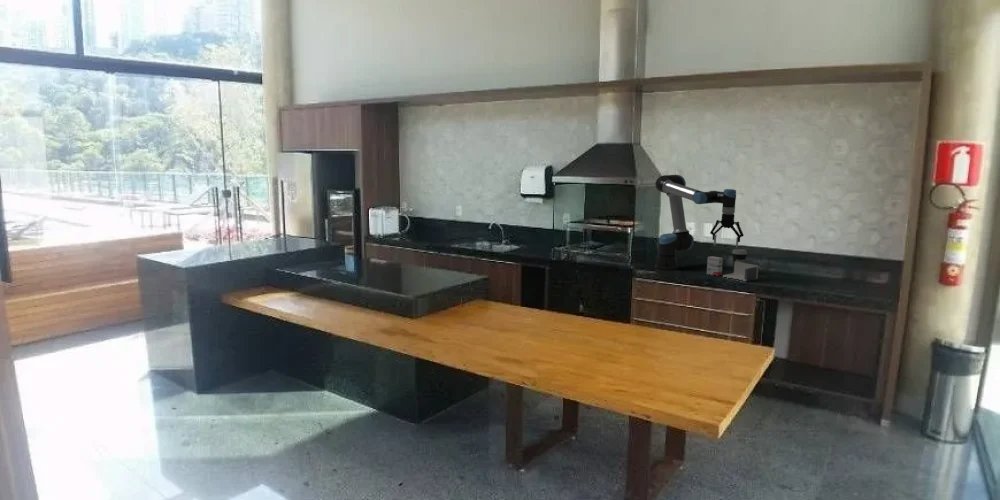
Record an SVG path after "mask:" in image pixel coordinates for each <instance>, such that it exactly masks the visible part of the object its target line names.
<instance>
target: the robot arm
mask: <svg viewBox="0 0 1000 500" xmlns="http://www.w3.org/2000/svg"><path fill="white" fill-rule="evenodd" d="M686 183H687V182H686V180H685V178H684V177H683V176H682V175H679V174H667V175H666V174H663V175H660V176H658V178H657V179H656V180H655V184H654V186H655V189H656V190H657V191H659V192H661V193H664V194H666V196H667V198H668V200H669V207H670V213H671V221H672V227H673V231H672V233H669V232H668V233H663V234H661V235H660V236H659V239H658V256H657V259H656V262H655V265H654V267H655V268H656V269H659V270H667V271H671V270H672V271H673V270H678V269H679V264H678V261H677V260H678V259H677V256H676V255H677V252H686V251H689V250H691V249H692V248H693V246H694V243H695V238H694V236H693V235H692V233H690V231H689V230H688V229H687V224H686V217H685V211H684V210H685V209H684V204H683V203H684V202H683V199H687V200H690V201H693V202H694V204H696V205H706V204H722V209H721V213H722V214H721V220H719V219H717V220H716V221H715V224H714V226H713V227H712V228H711V230H710V232H709V234H710V235H712V240H713V246H716V244H717V233H718V232H719V231H720V230H722V229H731V230H732V231H733V233H734V234H735V235H736V240H735V249H738V247H739V243H740V242H741V238H742V237H744V233H743V230H742V228H741V226H740V221H735V212H736V200H737V190H736V189H733V188H732V189H731V188H729V189H728V188H725V189H724V190H723V191H719V190H709V191H702V190H699V189H697V188H696V189H695V188H693V187H692V188H691V187H689V186H687V184H686ZM719 224H721V225H720V226H719V227H718V228H717V226H718V225H719ZM734 225H735V226H736V228H737V229H736V228H735V226H734ZM716 228H717V229H716Z"/></svg>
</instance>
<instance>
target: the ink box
mask: <svg viewBox="0 0 1000 500" xmlns="http://www.w3.org/2000/svg"><path fill="white" fill-rule="evenodd" d="M706 261H707V262H706V263H707V264H706V275H709V274H710V275H709V276H714V275H716V277H721V276H723V262H724V261H723V257H718V256H712V255H711V256H707V260H706ZM720 275H721V276H720Z"/></svg>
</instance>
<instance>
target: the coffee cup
mask: <svg viewBox="0 0 1000 500" xmlns="http://www.w3.org/2000/svg"><path fill="white" fill-rule="evenodd" d="M731 254H732V273H734V264H735V261H737V262H742V263H746V259H747V255H748V252H747V250H746V249H744V248H743V249H740V248H734V249H733V250H732V251H731Z"/></svg>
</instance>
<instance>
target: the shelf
mask: <svg viewBox="0 0 1000 500" xmlns="http://www.w3.org/2000/svg"><path fill="white" fill-rule="evenodd" d="M724 277H727V278H726V279H728V278H733V279H739V280H743V281H748V282H751V281H750V280H752V281H756V279H757V280H758V277H759V265H758V264H752V263H748V262H745V263H742V262H737V261H735V264H734V272H731V273H726V274H722V278H724ZM733 279H732V280H733Z"/></svg>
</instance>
